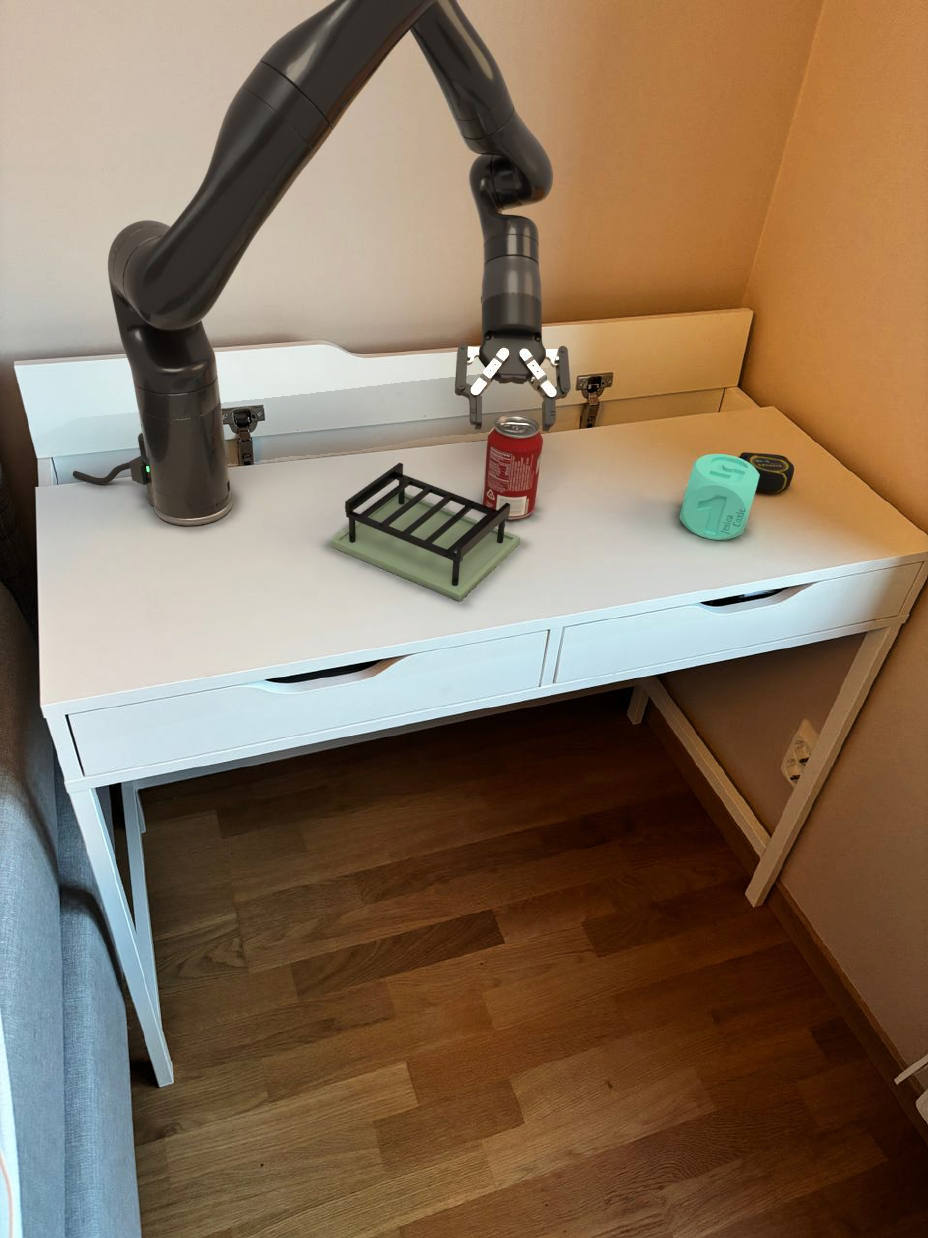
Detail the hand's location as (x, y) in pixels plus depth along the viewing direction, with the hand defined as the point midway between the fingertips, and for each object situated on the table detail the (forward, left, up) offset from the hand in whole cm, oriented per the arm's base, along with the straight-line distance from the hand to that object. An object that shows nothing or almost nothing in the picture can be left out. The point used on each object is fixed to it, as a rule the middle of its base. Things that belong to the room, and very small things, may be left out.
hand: (512, 428), depth 117 cm
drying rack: (-2, -15, -10) cm, 18 cm away
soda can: (+2, -2, -10) cm, 11 cm away
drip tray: (-2, -15, -10) cm, 18 cm away
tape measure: (+27, +25, -10) cm, 38 cm away
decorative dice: (+25, +11, -10) cm, 29 cm away
